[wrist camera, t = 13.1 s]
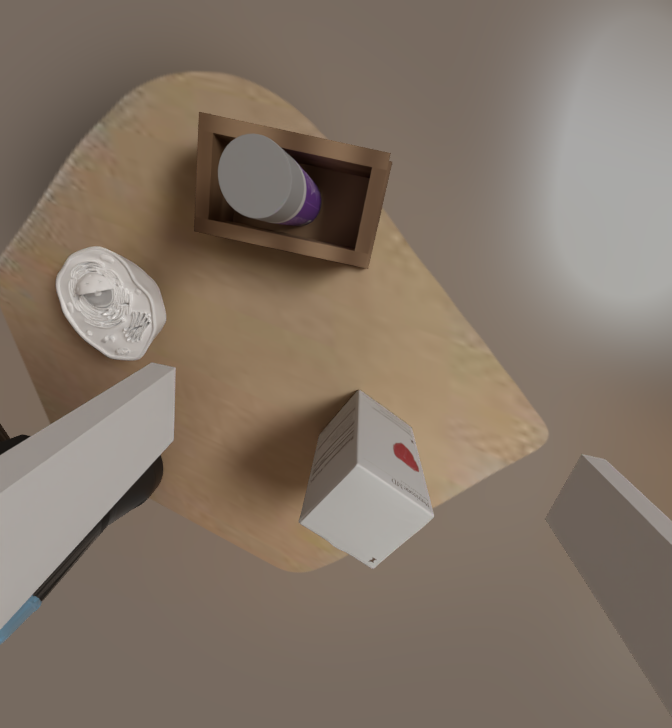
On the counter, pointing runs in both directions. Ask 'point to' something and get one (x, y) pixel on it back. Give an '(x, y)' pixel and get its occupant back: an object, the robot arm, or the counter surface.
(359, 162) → the open wooden box
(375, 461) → the supplement box
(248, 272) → the counter surface
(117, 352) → the cell model
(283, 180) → the container
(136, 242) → the counter surface
